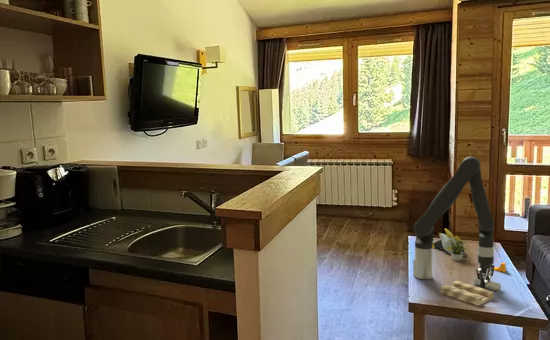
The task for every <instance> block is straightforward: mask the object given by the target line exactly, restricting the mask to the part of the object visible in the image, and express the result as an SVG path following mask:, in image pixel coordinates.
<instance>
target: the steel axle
mask: <svg viewBox="0 0 550 340" xmlns="http://www.w3.org/2000/svg"><path fill="white" fill-rule="evenodd" d="M473 282H474V283H473V284H474V286H476V287H480V288H482V287H481V286H480V280H479V279H478V278H477V276H476V277H475V278H474V281H473ZM501 288H502V285H501V283H499V282H494V281H492V280H490V281H488V280H486V279H485V287H484V288H483V289H486V290H490V291H493V292H496V293H498V292H500V291H501Z"/></svg>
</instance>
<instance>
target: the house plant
mask: <svg viewBox="0 0 550 340" xmlns="http://www.w3.org/2000/svg"><path fill="white" fill-rule="evenodd" d="M458 238H459V239H458V241H457V240H456V245H455V242H454V243H453V241H452V240H451V239H449V240H450V241H451V243H452V244H451V243H450V242H449V241H448V242H449V243H450V244H451V245H452V247H447V248H451V249H452V250H453V252H451V254H450V257H451V259H452V260H453V261H457V262H458V261H463V259H464V258H463V257H464V256H463V253H462V252H460V251H461V250H462V249H464V250H466V247H465V246H466V245H467V244H466V243H467V242H468V239H467V240H463V242H462V243H460V240H461V238H460V237H459V236H458ZM455 239H456V238H455ZM460 244H461V245H460ZM454 245H455V246H454ZM459 245H460V246H459Z"/></svg>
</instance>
